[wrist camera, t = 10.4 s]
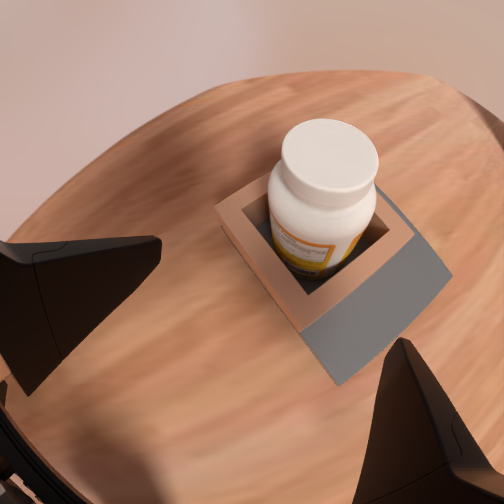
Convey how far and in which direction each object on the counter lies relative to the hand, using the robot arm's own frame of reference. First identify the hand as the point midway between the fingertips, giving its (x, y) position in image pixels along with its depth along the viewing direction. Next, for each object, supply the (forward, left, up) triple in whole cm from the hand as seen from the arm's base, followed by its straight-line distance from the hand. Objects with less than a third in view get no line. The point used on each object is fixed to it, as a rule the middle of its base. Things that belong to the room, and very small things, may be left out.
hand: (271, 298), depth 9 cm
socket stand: (+1, -7, -10) cm, 12 cm away
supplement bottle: (+3, -5, -9) cm, 11 cm away
